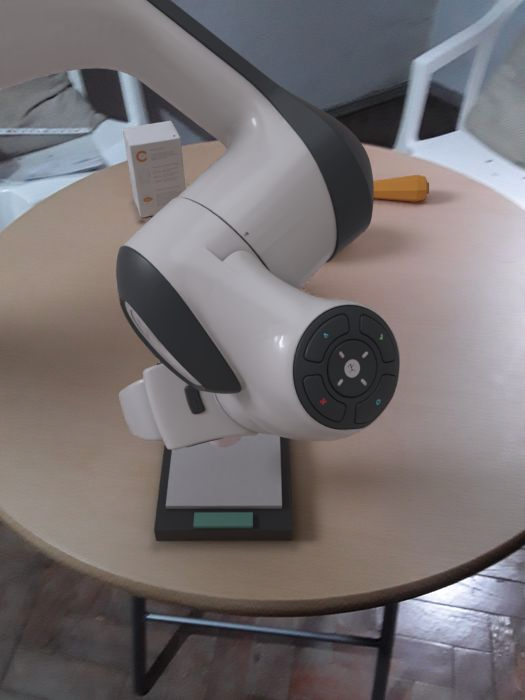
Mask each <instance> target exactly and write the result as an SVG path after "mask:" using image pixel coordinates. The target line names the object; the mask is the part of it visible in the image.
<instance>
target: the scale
mask: <svg viewBox="0 0 525 700" xmlns="http://www.w3.org/2000/svg"><path fill="white" fill-rule="evenodd" d="M163 444H164V443H163ZM163 446H164V447H163V453H162V460H161V461H162V462H161V469H160V470H161V471H160V478H159V486H158V494H157V504H156V511H155V520H154V527H153V529H154V530H153V532H154V536H155V541H159V542H161V541H162V542H165V541H167V542H169V541H171V542H172V541H176V542H177V541H179V542H181V541H183V542H184V541H186V542H187V541H193V542H195V541H197V542H198V541H199V542H200V541H293V511H292V510H293V507H292V505H293V504H292V484H291V481H292V480H291V458H290V439H288V438H284V437H280V436H277V435H269V434H263V433H258V435H255V436H241V438H240V439H239V441H238V442H237V443H236V444H234V445H232V446H229V447H217V446H214V445H212V444H211V443H210V442H206V443H202V444H198V445H195V446H191V447H184V448H181V449H177V450H170V449H167V447H166V446H165V444H164V445H163Z"/></svg>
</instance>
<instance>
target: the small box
mask: <svg viewBox="0 0 525 700" xmlns="http://www.w3.org/2000/svg"><path fill="white" fill-rule="evenodd" d="M122 134H123V140H124V147H125V153H126V160H127V167H128V172H129V178H130V184H131V185H130V186H131V193H132V197H133V201H134V204H135V206H136V208H137V211H138V213H139V217H140V218H146V217H153V216H154V215H155V214H157V213H158V212H159V211H160V210H161V209H162V208H163V207H164V206H166V205H167V204H168V203H169V202H170V201H171V200H172V199H173V198H176V197H178V196H179V195H180V194H181V193H182V192H183V191H184V190H185V189H186V188H187V187H186V178H185V169H184V168H185V167H184V159H183V148H182V138H181V136H180V134H179V133H178V131H177V128H176V127H175V126H174V123H173V122H172V120H167V121H161V122H154V123H147V124H142V125H141V124H140V125H134V126H127V127H123V128H122Z"/></svg>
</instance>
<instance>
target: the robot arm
mask: <svg viewBox="0 0 525 700" xmlns="http://www.w3.org/2000/svg"><path fill="white" fill-rule="evenodd" d="M85 69H87V70H89V69H102V70H103V69H105V70H110V71H111V70H112V71H117V72H120V73H122V74H126V75H129V76H131V77H132V78H135V79H136V80H138V81H139V82H141V83H143V85H145V86H146V87H148V88H149V89H150V90H151V91H152V92H154V93H155V94H157V95H158V96H160V97H161V98H162V99H164V100H165V101H166V102H167V103H169V104H170V105H171V106H172V107H174V108H175V109H177V110H178V111H179V112H181V114H183V115H184V116H186V117H187V118H188V119H190V120H191V121H192V122H194V123H195V124H196V125H197V126H199V127H200V128H201V129H203V130H204V131H205V132H207V133H208V134H209V135H210V136H212V137H213V138H215V139H216V140H217V141H218V142H220V143H221V144H222V145H223V146H224V147H225V152H224V153H223V154H222V155H221V156H220V157H218V159H216V160H215V162H213V163H212V164H211V165H210V166H209V167H207V169H205V170H204V171H203V172H202V173H201V174H200V175H199V176H197V178H196V179H195V180H193V182H192V183H190V184H189V185H188V186H187V187H185V188H186V189H185V190H184V191H183V192H182V193H181V194H180V195H179V196H178V197H176V198H173V199H172V200H171V201H170V202H169V203H168V204H167V205H166V206H164V207H163V208H162V209H161V210H160V211H159V212H158V213H157V214H155V215H153V216H151V218H150V219H149V220H148V221H147V222H145V224H144V225H142V226H141V227H140V229H138V230H137V231H136V232H135V233H134V234H133V235H132V236H131V237H130V238H129V239H128V240H127V241H125V243H124V244H122V245H120V247H119V249H118V252H117V257H116V264H115V265H116V267H115V273H116V274H115V276H116V277H115V278H116V287H117V293H118V299H119V300H118V301H119V304H120V308H121V311H122V313H123V315H124V318H125V319H126V321H127V323H128V324H129V326H130V327H131V329H132V330H133V332H134V333H135V335H137V337H138V338H139V340H140V341H141V342H142V343H143V345H145V347H146V348H147V349H148V350H149V351H150V353H151V354H152V355H153V356H154V357H155V358H156V359H157V360H158V361H159V362H157V363H156V364H155V365H152V366H149V367H146V368H145V369H144V370H143V371H142V378H140V379H138V380H136V381H134V382H132V383H130V384H129V385H127V386H125V387H124V388H123V389H121V390H120V392H119V393H118V400H119V404H120V407H121V411H122V414H123V416H124V419H125V423H126V425H127V428H128V430H129V432H130V433H131V434H132V436H135V437H137V438H138V439H141V440H144V441H148V442H162V441H163V444H165V446H166V447H167V449H170V450H177V449H181V448H184V447H191V446H195V445H198V444H202V443H206V442H210V441H214V440H219V439H223V438H226V437H235V436H255V435H258V433H263V434H269V435H277V436H280V437H284V438H288V439H289V440H295V441H302V442H333V441H337V440H342V439H343V440H344V439H346V438H348V437H352V436H354V435H356V434H358V433H360V432H362V431H364V430H366V429H367V428H368V427H370V426H371V425H373V424H374V423H375V422H377V420H378V419H379V418H380V417H381V416H382V415H383V413H384V412H385V411H386V409H387V407H388V406H389V404H391V401H392V400H393V398H394V396H395V393H396V389H397V387H398V383H399V378H400V370H401V355H400V348H399V344H398V340H397V337H396V334H395V333H394V330H393V328H392V327H391V325H390V323H389V322H388V321H387V320H386V319H385V318H384V317H383V316H382V315H381V313H379V312H378V311H377V310H375V309H373V308H372V307H370V306H368V305H365V304H363V303H361V302H358V301H354V300H349V299H342V298H325V297H320V296H316V295H314V294H311V293H308V292H306V291H303V290H301V288H303V287H304V286H305V284H306V283H307V282H308V281H309V280H310V279H311V278H312V277H313V276H314V275H315V274H316V273H317V272H318V271H320V269H321V268H322V267H323V266H324V265H325V264H327V263H329V262H331V261H332V260H333V259H334V258H335V257H336V256H338V255H339V254H340V253H341V252H342V251H343V250H344V249H346V248H347V247H348V246H349V245H350V244H352V243H353V242H354V241H355V240H357V239H358V238H359V237H360V236H361V235H363V233H365V232H366V231H367V229H368V228H369V227H370V225H371V221H372V218H373V211H374V184H373V181H374V176H373V175H374V174H373V169H372V164H371V160H370V158H369V154H368V152H367V150H366V148H365V146H364V145H363V144H362V142H361V141H360V140H359V138H358V137H357V136H356V135H355V134H354V132H353V131H351V130H350V128H348V127H347V125H345V124H343V123H342V122H341V121H339V120H338V119H337V118H336V117H334V116H332V115H331V114H329V113H328V112H327V111H324V110H323V109H321V108H319V107H318V106H316V105H314V104H312V103H310V102H308V101H307V100H305V99H303V98H301V97H300V96H298V95H296V94H294V93H292V92H291V91H289V90H287V89H286V88H284V87H283V86H282V85H280V84H278V83H277V82H276V81H274V80H273V79H271V78H270V77H269V76H267V74H265V73H264V72H262V70H260V69H259V68H258V67H256V66H255V65H254V64H252V63H251V62H250V61H248V59H246V57H244V56H242V55H241V54H240V53H239V52H238V51H236V50H235V49H233V48H232V47H231V46H230V45H228V44H227V43H226V42H224V41H223V40H222V39H221V38H219V37H218V36H217V35H216V34H214V33H213V32H212V31H210V29H208V28H207V27H206V26H205V25H203V24H202V23H201V22H199V21H198V20H197V19H196V18H194V17H193V16H192V15H190V14H189V13H188V12H186V11H185V10H184V9H183V8H182V7H180V6H179V5H177V4H176V2H174V1H172V0H0V91H2V90H6V89H9V88H12V87H14V86H18V85H20V84H24V83H27V82H31V81H33V80H37V79H39V78H43V77H49V76H51V75H55V74H61V73H65V72H72V71H79V70H85Z"/></svg>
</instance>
